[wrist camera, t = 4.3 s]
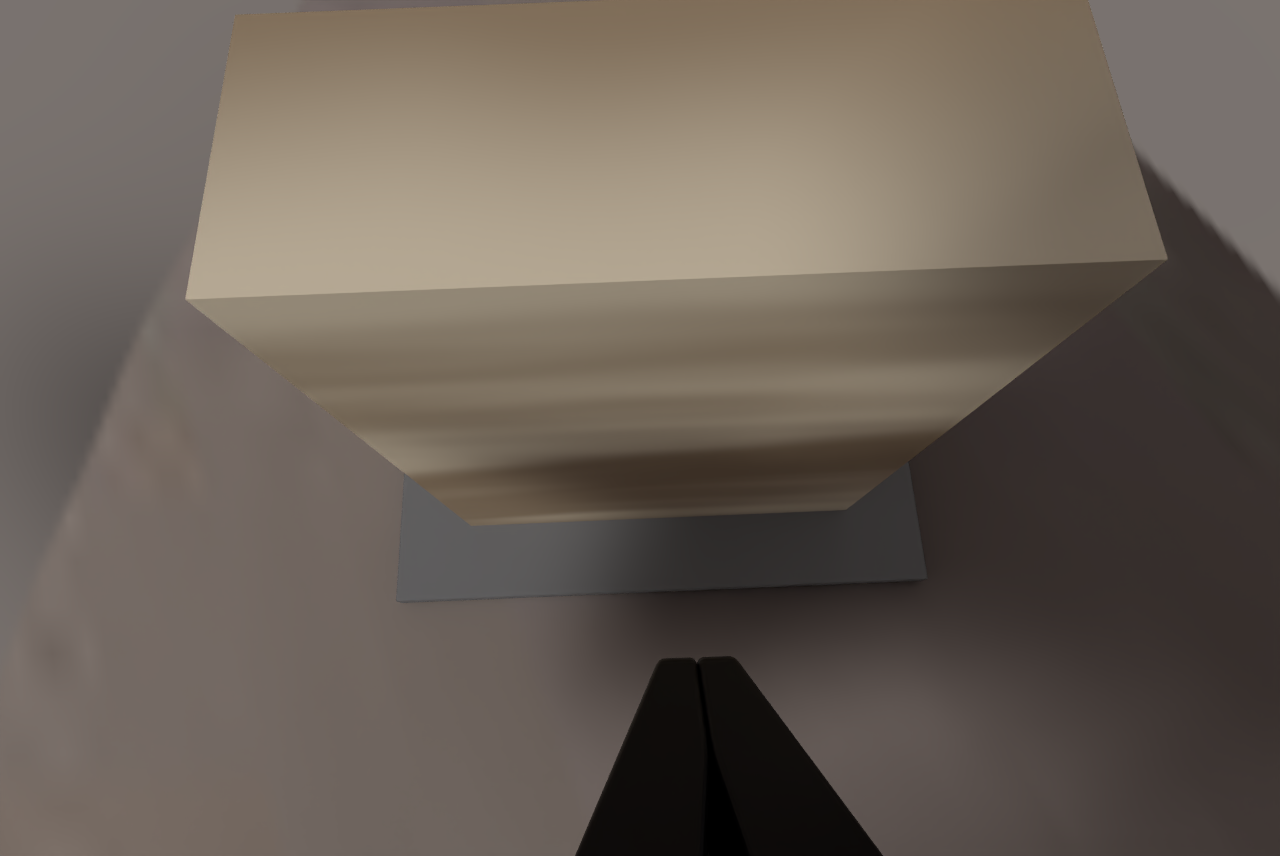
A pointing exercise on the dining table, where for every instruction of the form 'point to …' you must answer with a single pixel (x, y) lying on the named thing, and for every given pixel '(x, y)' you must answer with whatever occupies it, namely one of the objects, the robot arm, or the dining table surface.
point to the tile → (665, 236)
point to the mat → (658, 550)
